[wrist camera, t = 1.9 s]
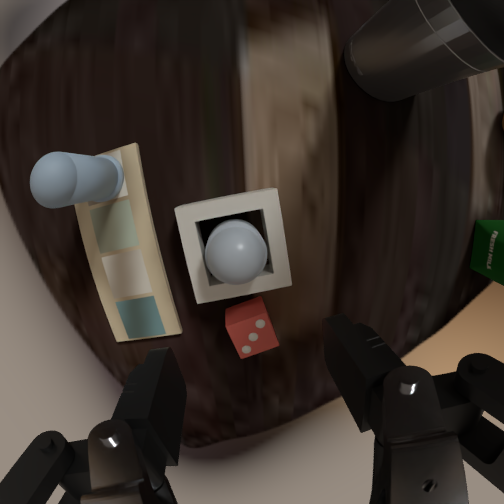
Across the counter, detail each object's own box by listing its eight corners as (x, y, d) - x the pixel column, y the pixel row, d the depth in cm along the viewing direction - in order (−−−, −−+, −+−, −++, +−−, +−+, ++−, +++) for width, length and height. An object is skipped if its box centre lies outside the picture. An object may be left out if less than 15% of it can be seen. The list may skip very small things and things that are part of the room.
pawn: (119, 149, 24) (61, 135, 14) (128, 195, 26) (72, 205, 15) (80, 162, 24) (13, 159, 14) (88, 206, 25) (23, 223, 15)
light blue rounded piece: (257, 214, 26) (265, 223, 20) (266, 267, 27) (276, 288, 22) (202, 225, 25) (195, 236, 20) (213, 277, 27) (211, 301, 21)
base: (271, 187, 27) (277, 188, 24) (285, 275, 30) (292, 285, 27) (179, 205, 27) (174, 208, 24) (199, 292, 29) (197, 303, 26)
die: (261, 295, 30) (266, 312, 26) (273, 326, 31) (279, 346, 27) (225, 308, 30) (225, 327, 26) (239, 338, 31) (241, 359, 27)
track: (138, 143, 25) (135, 142, 24) (182, 329, 30) (181, 333, 29) (71, 166, 25) (67, 166, 24) (119, 338, 30) (116, 341, 29)
